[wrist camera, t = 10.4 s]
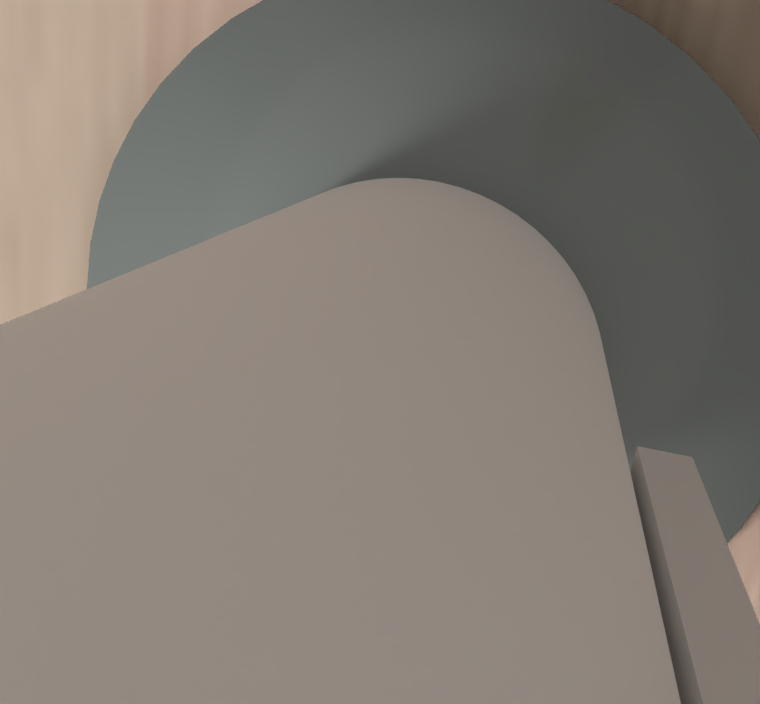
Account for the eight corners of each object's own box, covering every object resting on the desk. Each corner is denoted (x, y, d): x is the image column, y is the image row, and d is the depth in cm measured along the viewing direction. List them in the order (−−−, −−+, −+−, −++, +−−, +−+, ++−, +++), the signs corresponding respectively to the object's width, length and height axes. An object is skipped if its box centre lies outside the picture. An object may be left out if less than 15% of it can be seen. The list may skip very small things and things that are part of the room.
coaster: (-7, 306, 19) (-29, 315, 18) (448, -241, 13) (442, -261, 12) (398, 724, 21) (393, 748, 20) (968, 404, 15) (990, 421, 14)
